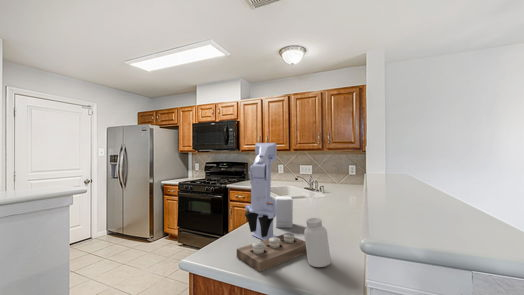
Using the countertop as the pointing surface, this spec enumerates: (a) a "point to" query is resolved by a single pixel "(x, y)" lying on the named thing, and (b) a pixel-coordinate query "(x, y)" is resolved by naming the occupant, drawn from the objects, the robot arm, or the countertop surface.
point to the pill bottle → (317, 243)
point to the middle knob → (274, 243)
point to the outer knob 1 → (258, 248)
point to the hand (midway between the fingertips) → (258, 233)
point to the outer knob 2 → (288, 238)
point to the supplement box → (284, 212)
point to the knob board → (271, 253)
